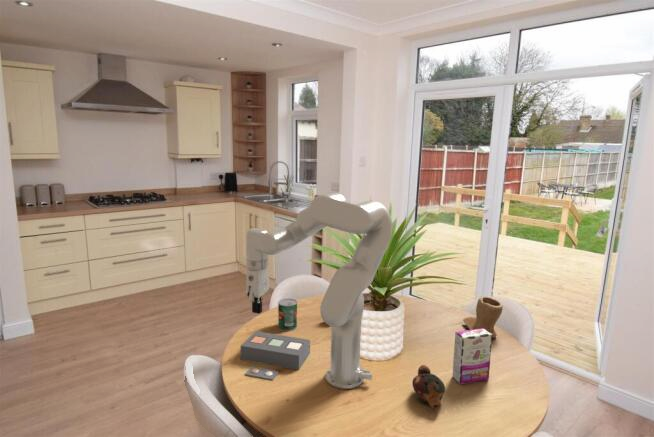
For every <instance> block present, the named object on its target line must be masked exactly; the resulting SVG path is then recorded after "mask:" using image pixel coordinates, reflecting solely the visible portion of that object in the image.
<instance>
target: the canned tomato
mask: <svg viewBox="0 0 654 437" xmlns="http://www.w3.org/2000/svg"><path fill="white" fill-rule="evenodd" d="M277 309H278V312H277V313H278V315H277V316H278V318H277V320H278V321H277V323H278V326H277V327H278V329H279V330H280V331H285V332H289V331H293V330H295V329H297V327H298V326H297V325H298V301H297V300H296V299H292V298H282V299H280V300H279V301H278V308H277Z"/></svg>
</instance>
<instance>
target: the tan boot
mask: <svg viewBox="0 0 654 437" xmlns="http://www.w3.org/2000/svg"><path fill="white" fill-rule="evenodd" d="M475 307H476V308H475V313H476V314H475V315H476V316H475V317H473V316H469V317H464V318H463V320H462V322H464V324H465V325H466V327H467V328H468V329H469V330H475V329H482V328H484V329H486V330H487V331H488V332H490V333H491V334H492V339H493V338H496V337H497V336H498V334H497V331H496V330H495V325H496V323H497V321H498V320H499V319H500V316H501V315H502V313H503V304H502V302H501V301H499V300H498V299H495V298H492V297H489V296H480V297H479V298H478V300H477V303H476V306H475Z"/></svg>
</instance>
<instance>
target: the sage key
mask: <svg viewBox="0 0 654 437" xmlns="http://www.w3.org/2000/svg"><path fill="white" fill-rule="evenodd" d="M283 343H284V341H282V340H276V339H272V341H271V342H270V343H269V344H268V345H270V346H276V347H281V345H282V344H283Z"/></svg>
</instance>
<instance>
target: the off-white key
mask: <svg viewBox="0 0 654 437" xmlns="http://www.w3.org/2000/svg"><path fill="white" fill-rule="evenodd" d="M301 346H302V344H300V343H294V342H290V343H289V345H288V346H287V347H286V348H288V349H294V350H299V349H300V348H301Z"/></svg>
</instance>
